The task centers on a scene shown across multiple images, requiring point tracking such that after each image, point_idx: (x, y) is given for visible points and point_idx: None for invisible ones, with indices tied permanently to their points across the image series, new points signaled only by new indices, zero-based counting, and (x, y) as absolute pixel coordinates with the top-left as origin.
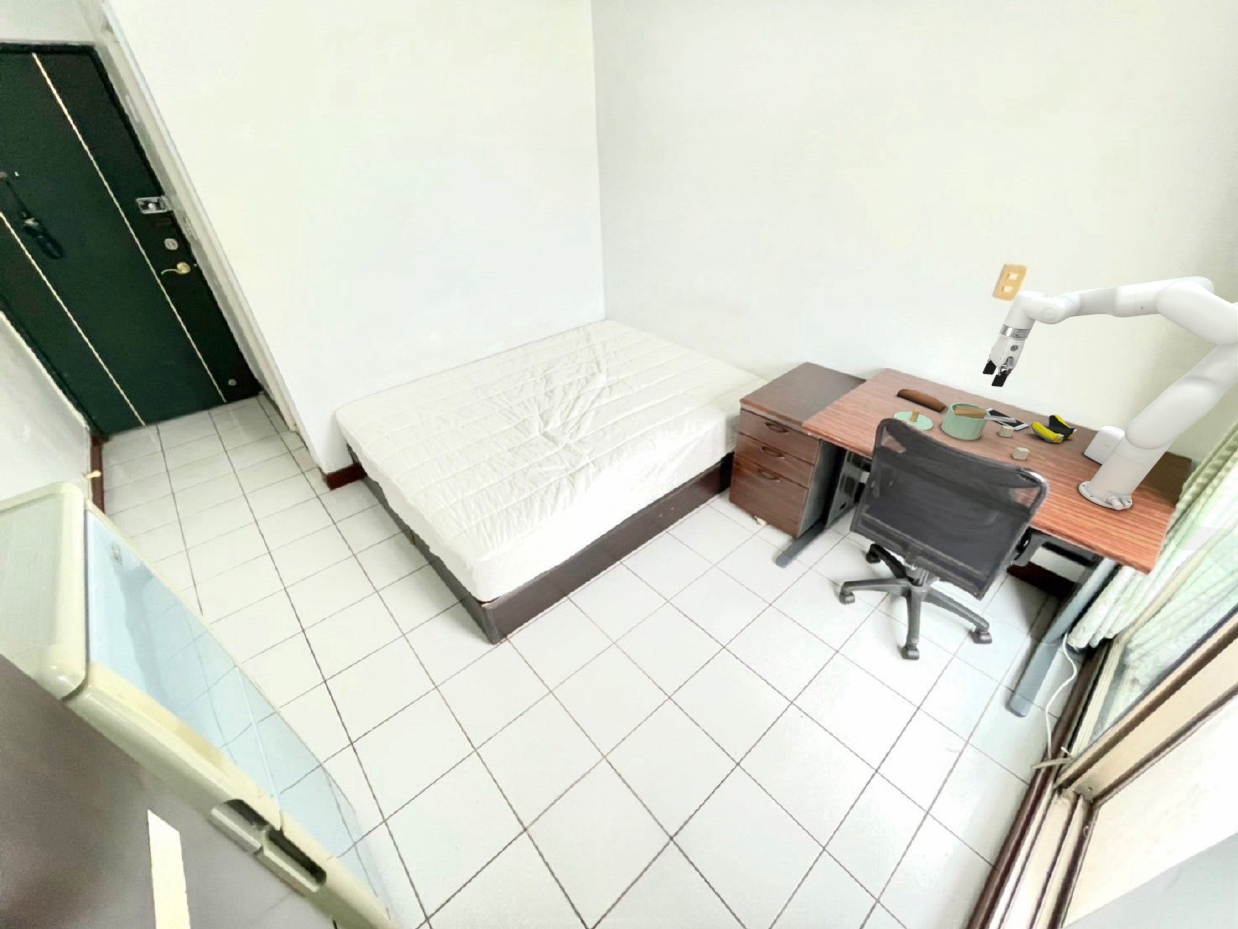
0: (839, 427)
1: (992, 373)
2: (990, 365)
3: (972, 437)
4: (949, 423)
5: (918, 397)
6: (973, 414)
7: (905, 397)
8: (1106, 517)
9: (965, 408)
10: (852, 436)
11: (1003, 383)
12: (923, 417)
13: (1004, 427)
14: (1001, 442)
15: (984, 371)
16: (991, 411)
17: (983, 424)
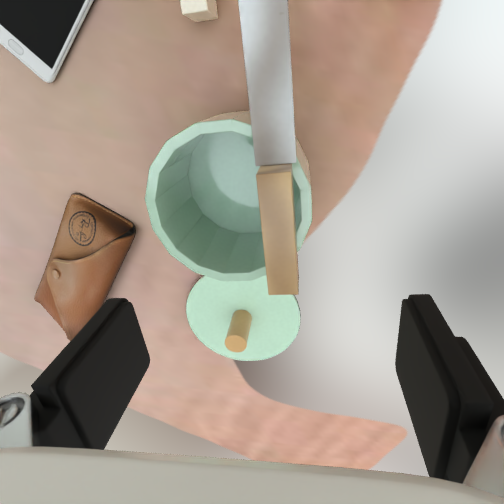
0: (337, 456)
1: (126, 313)
2: (96, 420)
3: (303, 153)
4: None
5: (95, 300)
6: (294, 218)
7: None
8: None
9: (286, 266)
10: (376, 440)
11: (444, 323)
12: (208, 287)
13: (200, 8)
14: None
15: (139, 379)
16: (10, 23)
17: None
